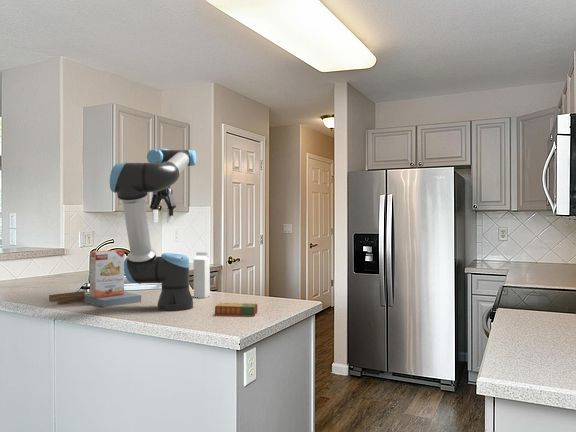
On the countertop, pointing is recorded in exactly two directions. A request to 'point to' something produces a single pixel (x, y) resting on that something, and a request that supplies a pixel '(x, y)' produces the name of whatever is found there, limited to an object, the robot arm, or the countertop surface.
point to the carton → (235, 309)
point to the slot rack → (68, 297)
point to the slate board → (113, 299)
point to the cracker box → (106, 273)
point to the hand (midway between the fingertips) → (162, 222)
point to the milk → (201, 275)
